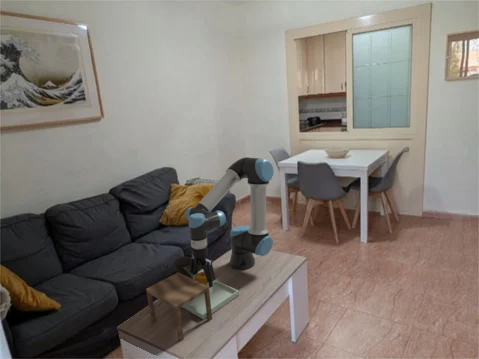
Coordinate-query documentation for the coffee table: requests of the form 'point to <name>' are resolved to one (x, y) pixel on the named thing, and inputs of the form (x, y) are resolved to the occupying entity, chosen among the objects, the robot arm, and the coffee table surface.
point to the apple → (201, 278)
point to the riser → (178, 296)
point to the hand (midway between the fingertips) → (203, 289)
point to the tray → (212, 300)
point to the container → (183, 266)
